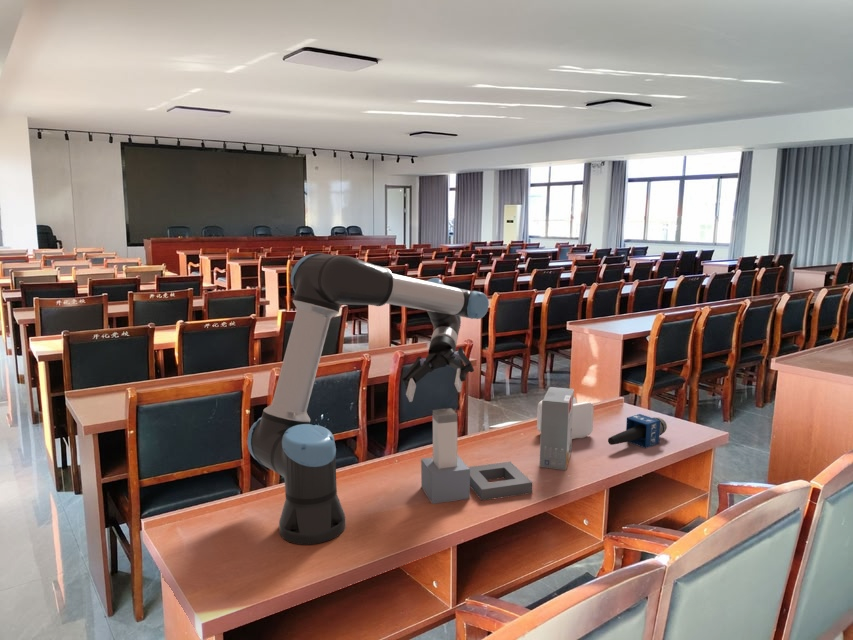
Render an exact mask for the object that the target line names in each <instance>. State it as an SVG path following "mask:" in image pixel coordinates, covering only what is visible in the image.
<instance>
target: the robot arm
mask: <svg viewBox="0 0 853 640" xmlns="http://www.w3.org/2000/svg"><path fill="white" fill-rule="evenodd" d="M290 283H291V286H292V289H293V291H294V296H293V298H292V303H293V304H294V306H295V308H296V312H295V315H294V320H293V324H292V326H291V330H290V334H289V338H288V342H287V346H286V348H285V352H284V357H283V362H282V364H281V368H280V372H279V376H278V379H277V382H276V388H275V391H274V395H273V399H272V401H271V403H270V404H269V405H268V406H267V407H265V408H264V409H263V411H262V415H261V417H259V418H258V419H257V421H255V422H254V423H253V424H252V425H251V427H250V429H249V430H248V434H247V439H246V440H247V449H248V452H249V453H250V456H252V457H253V459H254V460H256V461H257V463H259V464H260V465H261V466H263V467H265V468H268V469H270V470H271V471H273V472H275V473H276V474H278V475H279V476H281V477H283V478H284V492H285V493H284V494H285V499H284V502H283V503H284V504H283V507H282V511H281V514H280V518H279V523H278V528H279V529H278V530H279V531H278V532H279V535H280V536H281V538H282V539H283V540H285V541H287V542H289V543H293V544H297V545H316V544H321V543H325V542H328V541H331V540H333V539H336V538H337V537H338V536H339V535H341V534H342V533H343V532H344V530H345V528H346V524H347V523H346V514H345V512H344V509H343V507H342V503H341V501H340V499H339V496H338V492H337V491H338V490H337V460H336V453H337V448H336V443H335V436H334V435H333V433H332V432H331V430H330V429H328V428H326V427H324V426H322V425H319V424H315V425H313V424H312V423H311V418H310V416H309V415H308V412H307V411H308V407H309V404H310V403H309V402H310V398H311V396H312V392H313V388H314V385H315V380H316V376H317V372H318V368H319V364H320V361H321V357H322V353H323V350H324V345H325V342H326V338H327V336H328V330H329V326H330V324H331V320H332V318H333V317H335V316H336V315H338V314H339V313H340V309H341V305H357V306H359V305H360V306H361V305H362V306H364V305H365V306H375V307H382V306H384V305H386V304H387V305H392V306H399V307H405V308H410V309H415V310H416V309H417V310H423V311H426V312H427V315H428V316H429V318H430V319H429V320H430V322H431V324H432V327H433V330H432V331H433V332H432V335H431V339H430V342H429V347H428V353H427V354H428V355H427V356H426V357H423V358H422V356H417V357H416V359H415V362H414V363H413V364H412V365H411V366H410V368H409V369H408V370H406V372H405V373H404V374H403V375H402V377H401V378H400V380H401V381H402V383H403V385H404V386H405V387H404V388H405V390H406V392H405V396H406V398H407V400H408V402H409V403H412V402H413V400H414V396H415V392H416V388H417V385H416V384H417V383H418V382H420V380H421V379H422V378H423V377H425V376H426V375H427V374H428V373H432V372H433V371H434V370H436V369H440V368H446V366H447V367H449V368H451V369H452V368H453V370H455V371H456V374H455V380H454V386H455V389H456V391H457V393H461V392H462V386H463V382H465V381H466V380H467V374H469V372H470V373H474V371H475V369H474V367H473V364H472V362H471V360H470V359H469V358H468V357H467V355H466V353H465V351H464V349H463V347H458V349H457V343H458V338H459V332H460V329H461V326H462V325H461V323H462V321H461V319H462V318H467V319H471V320H480V319H482V318H484V317H485V315H487V312H488V310H489V306H490V303H489V299H488V296H487V294H485V293H484V292H481V291H478V290H468V289H464V288H459V287H455V286H450V285H446V284H444V283H443V280H442V279H440V278H439V277H433V278H430V279H427V280H423V279H418V278H414V277H410V276H405V275H401V274H397V273H392V271H391V270H390V268H388V267H384V266H381V265H376V264H373V263H371V262H368V261H365V260H362V259H359V258H357V257H352V256H349V255H338V254H329V253H313V254H311V253H310V254H307V255H306V256H303V257H301V258H300V259H299V260H298V261H297V262H296V263H295V265H294V266H293V268H292V270H291V274H290ZM456 350H457V351H456ZM456 357H457V358H458V359H460V360H461V362H462V363H461V362H459V361H458V360H457V359H456ZM310 423H311V424H310Z"/></svg>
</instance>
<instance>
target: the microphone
mask: <svg viewBox="0 0 853 640" xmlns="http://www.w3.org/2000/svg"><path fill="white" fill-rule="evenodd" d="M667 429H668V426H667V422H666V420H664V419H663V418H661V417H651V416H647V415H644V414H641V413H639V414H635V415H632V416H628V417H626V427H625V430H623V431H620V432H619V433H617V434H615V435H612V436H610V437H608V439H607V442H608V444H609V445H612V446H614V445H619V444H624V443H627V442H628V443H631V444H633V445H636V446H639V447H641V448H643V449H648V448H650V447H654V446H656V445H659V444H660V436H662V435H663V434H664V433H665V432H666V430H667Z"/></svg>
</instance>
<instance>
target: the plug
mask: <svg viewBox="0 0 853 640" xmlns="http://www.w3.org/2000/svg"><path fill="white" fill-rule="evenodd" d="M457 455H458V413H457V412H456V411H455V410H454V409H453V408H452V407H449V408H448V407H447V408H439V409H438V408H437V409H432V457H433V462H434V463H435V465H436V466H437V467H438V469H441V468H449V467H456V466H457Z"/></svg>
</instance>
